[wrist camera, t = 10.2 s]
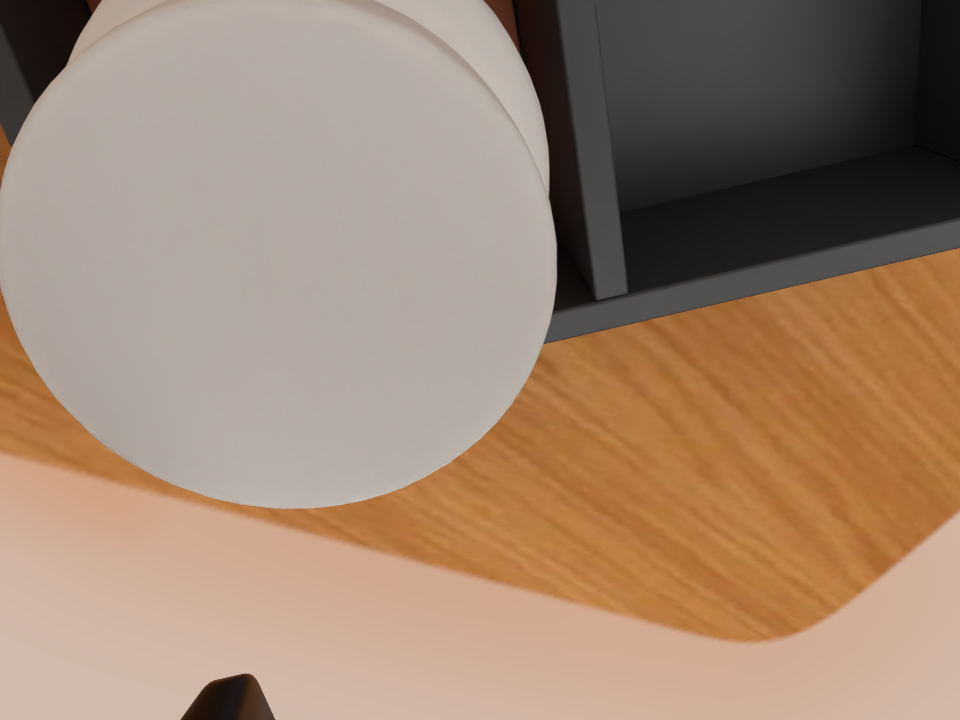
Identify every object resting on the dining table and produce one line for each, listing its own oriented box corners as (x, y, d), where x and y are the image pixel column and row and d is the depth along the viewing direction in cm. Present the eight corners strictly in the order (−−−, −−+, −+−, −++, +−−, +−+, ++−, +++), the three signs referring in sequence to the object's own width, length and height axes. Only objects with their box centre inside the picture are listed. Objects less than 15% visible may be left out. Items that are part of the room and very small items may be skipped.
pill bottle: (542, 69, 16) (759, 240, 7) (360, 287, 18) (361, 640, 9) (296, -160, 14) (184, -312, 5) (113, 111, 15) (-210, 352, 7)
